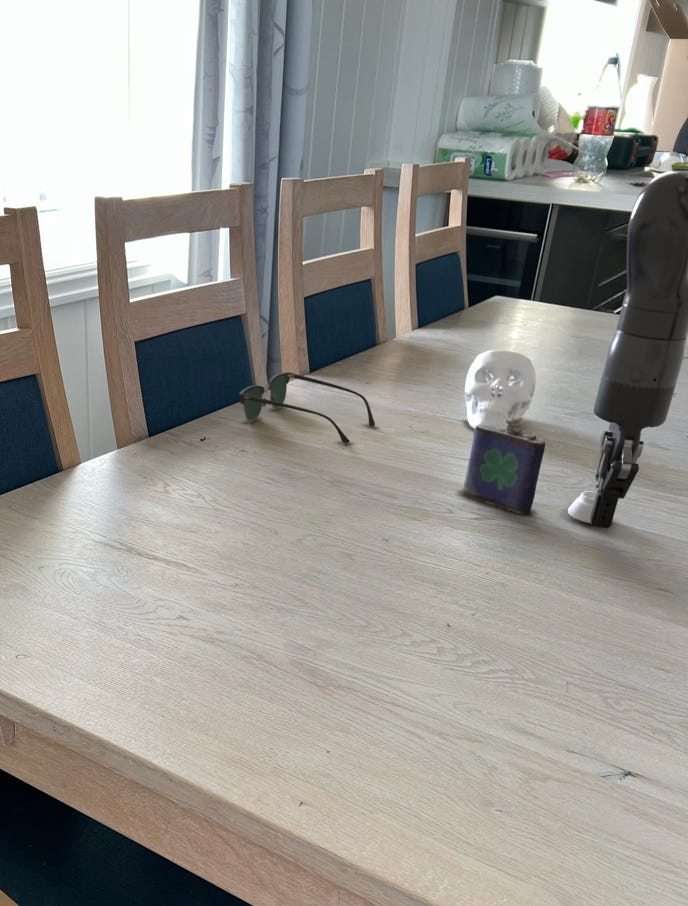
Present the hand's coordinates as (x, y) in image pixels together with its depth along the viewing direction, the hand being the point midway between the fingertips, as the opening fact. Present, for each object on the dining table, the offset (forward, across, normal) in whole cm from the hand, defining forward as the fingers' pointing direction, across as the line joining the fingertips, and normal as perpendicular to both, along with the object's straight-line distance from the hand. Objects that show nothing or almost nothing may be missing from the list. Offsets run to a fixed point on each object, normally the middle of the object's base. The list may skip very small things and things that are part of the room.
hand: (599, 525), depth 113 cm
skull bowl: (+1, +44, +12) cm, 45 cm away
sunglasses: (+1, +29, +39) cm, 48 cm away
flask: (+1, +6, +11) cm, 13 cm away
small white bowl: (+2, +5, 0) cm, 6 cm away
